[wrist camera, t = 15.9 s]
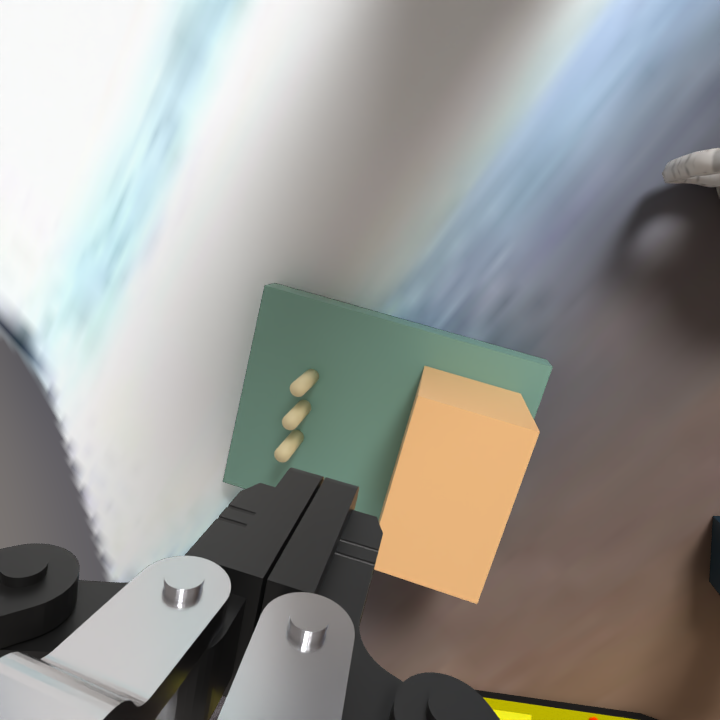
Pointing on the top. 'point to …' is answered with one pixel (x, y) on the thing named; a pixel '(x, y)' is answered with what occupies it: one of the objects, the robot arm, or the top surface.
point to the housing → (454, 483)
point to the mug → (695, 169)
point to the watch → (715, 554)
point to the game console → (551, 709)
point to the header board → (348, 390)
